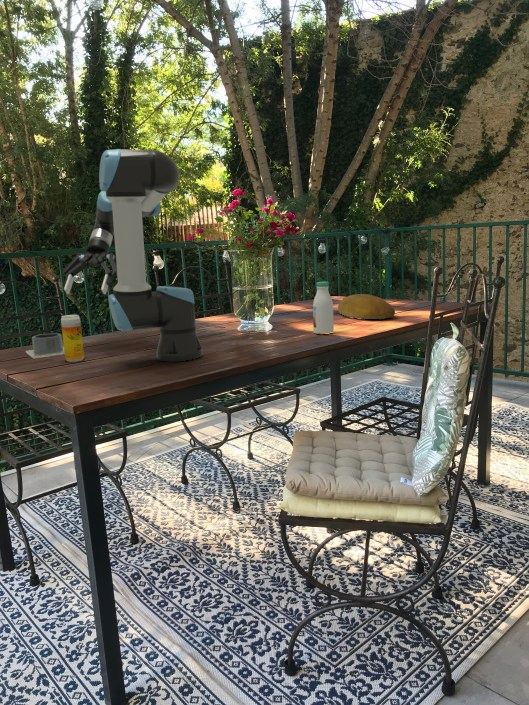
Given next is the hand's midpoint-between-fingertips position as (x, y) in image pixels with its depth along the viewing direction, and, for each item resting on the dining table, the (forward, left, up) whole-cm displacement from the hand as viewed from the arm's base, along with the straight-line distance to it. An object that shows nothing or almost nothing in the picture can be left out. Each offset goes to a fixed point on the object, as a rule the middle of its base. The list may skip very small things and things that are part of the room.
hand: (84, 291), depth 200 cm
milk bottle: (-28, -82, -22) cm, 89 cm away
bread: (-5, -123, -22) cm, 125 cm away
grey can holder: (+11, +12, -22) cm, 27 cm away
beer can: (-9, +8, -22) cm, 25 cm away
